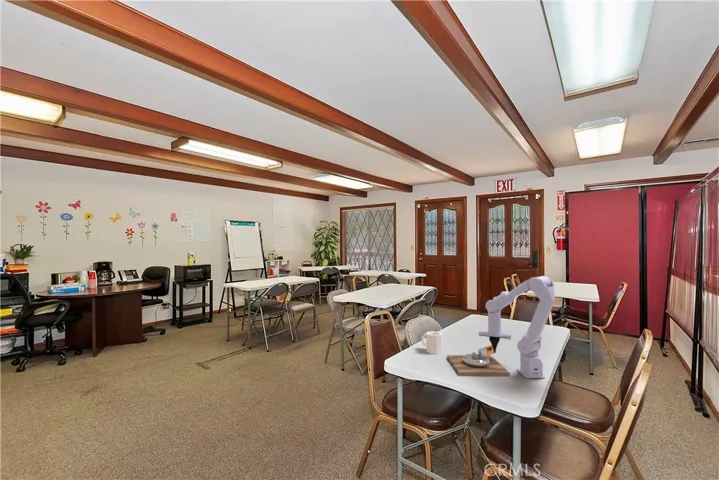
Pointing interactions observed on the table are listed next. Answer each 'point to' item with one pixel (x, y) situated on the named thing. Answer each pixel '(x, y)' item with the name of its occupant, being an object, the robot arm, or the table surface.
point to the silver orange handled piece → (479, 357)
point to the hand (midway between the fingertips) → (494, 352)
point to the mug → (432, 342)
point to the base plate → (467, 370)
